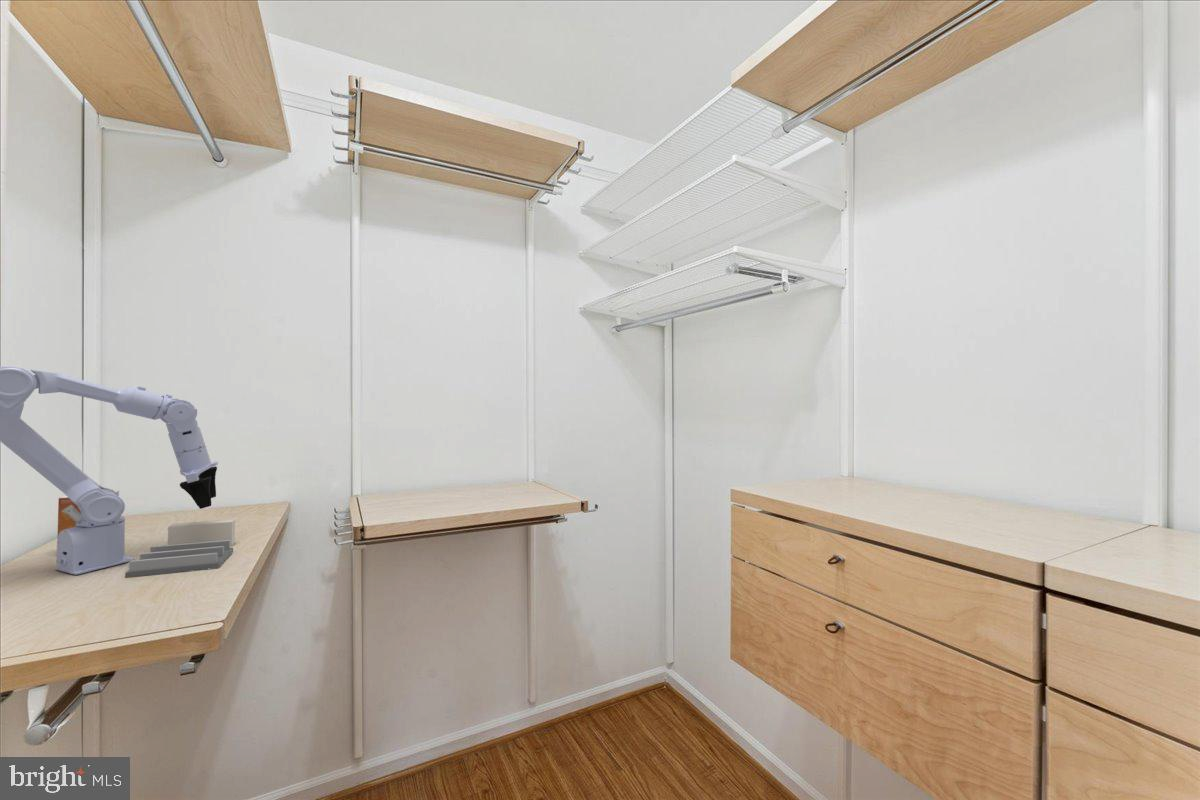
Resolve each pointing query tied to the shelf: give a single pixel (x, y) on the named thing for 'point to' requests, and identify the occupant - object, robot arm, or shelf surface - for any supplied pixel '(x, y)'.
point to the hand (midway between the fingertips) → (208, 502)
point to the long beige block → (201, 532)
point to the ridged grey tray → (180, 558)
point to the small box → (68, 513)
